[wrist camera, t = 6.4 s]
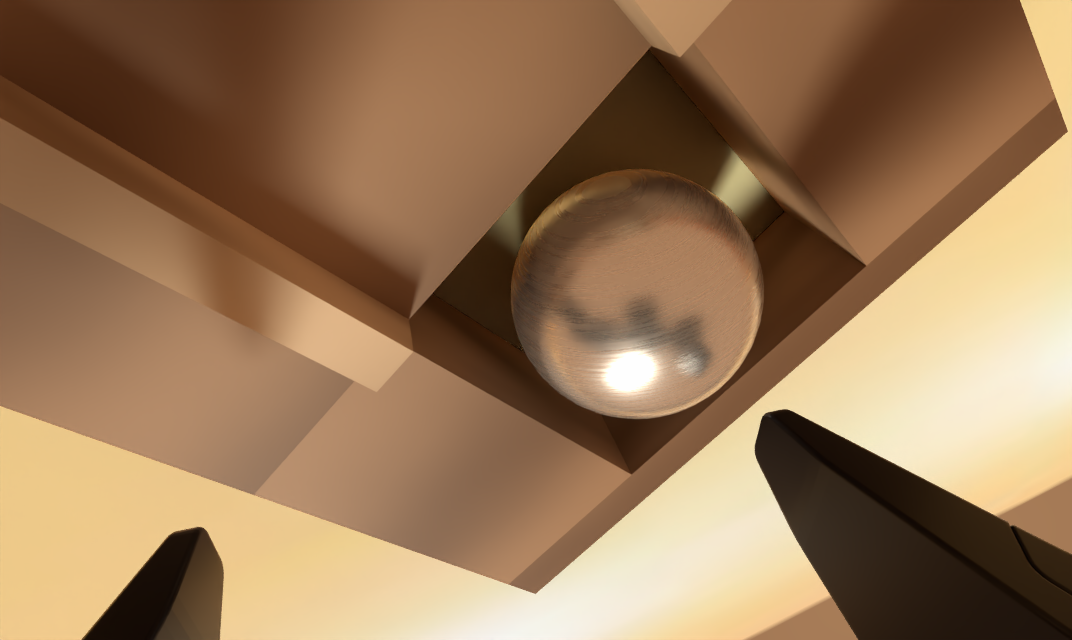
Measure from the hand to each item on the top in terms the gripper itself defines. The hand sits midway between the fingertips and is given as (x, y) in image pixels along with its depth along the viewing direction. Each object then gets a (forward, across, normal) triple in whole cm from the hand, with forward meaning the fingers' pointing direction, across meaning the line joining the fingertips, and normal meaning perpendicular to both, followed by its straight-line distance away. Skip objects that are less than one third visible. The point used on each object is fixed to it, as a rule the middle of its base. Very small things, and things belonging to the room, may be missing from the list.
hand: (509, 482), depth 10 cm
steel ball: (+3, -3, -1) cm, 5 cm away
